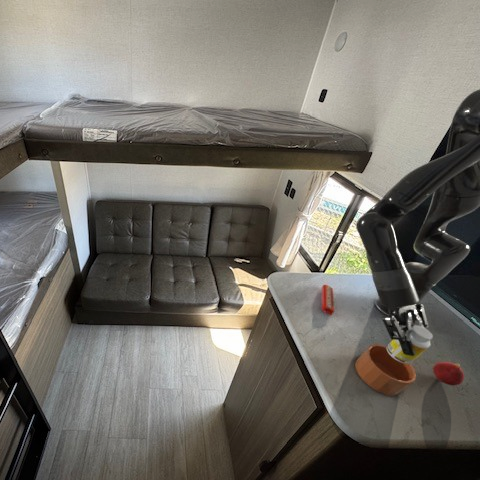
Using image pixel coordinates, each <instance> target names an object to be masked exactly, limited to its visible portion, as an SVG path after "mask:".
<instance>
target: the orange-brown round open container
mask: <svg viewBox="0 0 480 480" xmlns="http://www.w3.org/2000/svg"><path fill="white" fill-rule="evenodd" d="M354 365H355V370H356V373H357V374H358V376H359V377H360V378H361V380H362V381H363V382H364V383H365V384H366V385H368V386H369V387H370V388H372V389H374V391H376V392H378V393H380V394H383V395H386V396H396V395H398V394H400V393H401V392H402V391H404V390H405V389H406V388H408V387H409V386H410V385H411V384H412V383H414V382H415V380H416V379H417V375H416V370H415V369H414V367H413V365H412V364H411V363H409V364H405V363H401V362H399V361H397V360H395V359H394V358H393V357H391V356H390V354H389V353H388V351H387V345H383V344H378V343H377V344H375V343H374V344H369V346H368V347H367V348H366V350H364V352H363V353H362V354H360V356H359V357H358V358H357V360H355V364H354Z"/></svg>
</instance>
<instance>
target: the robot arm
mask: <svg viewBox="0 0 480 480" xmlns="http://www.w3.org/2000/svg"><path fill="white" fill-rule="evenodd" d="M450 123H451V124H450V129H449V133H448V140H447V146H446V152H445V155H443V156H441V157H438V158H436V159H434V160H431V161H428V162H426V163H424V164H422V165H420V166H418V167H416V168H414V169H413V170H411V171H409V172H408V173H407V174H406V175H404V176H403V177H402V178H401V179H400V180H399V181H398V182H396V183H395V185H393V186H392V187H391V188H390V189H389V190H388V191H387V192H386V193H385V195H383V197H382V198H381V199H380V200H379V201H378V202H377V203H375V204H374V205H373V206H372V207H371V208H369V209H368V210H367V211H366V212H365V213H363V214H362V215H361V216H360V217H359V218H358V220H357V221H356V223H355V229H356V231H357V233H358V235H359V238H360V240H361V243H362V245H363V247H364V250H365V256H366V260H367V262H368V267H369V269H370V271H371V277H372V281H373V285H374V287H375V290H376V293H377V295H378V298H377V299H376V300H375V301H374V305H375V307H376V309H377V310H378V311H379V312H380V313H382V314H383V315H385V316H382V317H381V320H382V322H383V324H384V327H385V329H386V331H387V333H388V335H389V337H390V339H391V340H393V339H395V340H398V341H399V343H400V345H401V348H402V351H403V353H404V354H405V355H410V356H414V355H415V351H414V348H413V345H412V342H411V340H410V331H412V326H414V325H418V326H421V327H424V328H425V329H428V328H429V322H428V319H427V314H426V311H425V306H424V304H423V303H420V302H421V301H422V300H423V299H424V297H425V296H426V295H427V294H428V293H429V292H430V291H431V290H432V289H433V288H434V287H435V286H436V285H437V284H438V283H439V282H440V281H441V280H443V279H444V278H445V277H446V276H448V274H449V273H451V271H452V270H454V269H455V267H457V266H458V265H459V264H460V263H461V262H462V261H463V260H465V259H466V257H467V256H468V255H469V253H470V252H471V246H470V244H468V243H466V242H464V241H462V240H461V239H459V238H456V237H455V236H453V235H450V234H448V233H447V232H446V229H447V226H448V225H449V223H451V222H452V221H455V220H458V219H459V218H462V217H465V216H466V215H468V214H471V213H472V212H475V211H476V210H477V209H478V208H479V207H480V89H476V90H474V91H472V92H471V93H470V94H468V95H467V96H466V97H465V98H464V99H463V100H462V101H461V102H460V104H459V106H458V107H457V109H456V110H455V112H454V115H453V117H452V120H451V122H450ZM431 196H432V197H431ZM429 197H431V198H432V199H431V201H430V202H431V203H430V206H429V208H428V210H427V211H428V212H427V214H426V217H425V219H424V221H423V224H422V225H421V228H420V229H419V231H418V234H417V236H416V238H415V240H414V243H413V250H414V252H415V253H416V254H418V255H419V256H421V257H422V258H423V259H426V260H427V261H428V262H430V264H426V263H422V262H417V261H409V262H407V263H405V260H404V258H403V255H402V253H401V251H400V248H399V245H398V241H397V237H396V233H395V228H394V226H395V224H396V223H397V222H399V221H400V220H401V219H402V218H403V217H404V216H406V215H407V214H409V213H411V212H412V211H414V210H415V209H417V208H418V207H419V206H420V205H421V204H422V203H424V202H425V201H426V200H427V199H428V198H429ZM402 330H403V331H404V334H403V332H402Z"/></svg>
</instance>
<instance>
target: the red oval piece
mask: <svg viewBox="0 0 480 480" xmlns="http://www.w3.org/2000/svg"><path fill="white" fill-rule="evenodd" d="M432 371H433V372H432V373H433V375H434V377H435V378H436V380H438V381H439V382H441V383H443V384H446V385H448V386H459V385H461V384H462V383H463V382H464V380H465V372H464V371H463V369H462V368H461V365H460V364H459V362H458V363H453V362H449V361H440V362H437V363H435V364H434V366H433V367H432Z"/></svg>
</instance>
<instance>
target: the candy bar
mask: <svg viewBox="0 0 480 480" xmlns="http://www.w3.org/2000/svg"><path fill="white" fill-rule="evenodd" d="M334 303H335V302H334V289H333V287H331V286H329V285H327V284H322V286H321V310H322V311H323V312H325V314H328V315H329V316H333V313H334V312H335V304H334Z"/></svg>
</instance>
